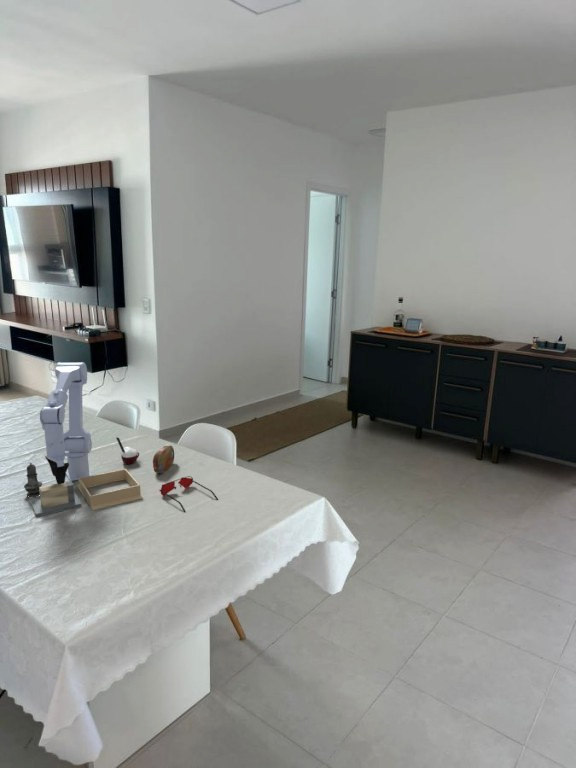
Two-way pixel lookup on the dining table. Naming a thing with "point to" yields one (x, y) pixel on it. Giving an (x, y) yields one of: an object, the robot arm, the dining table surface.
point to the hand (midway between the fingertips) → (58, 479)
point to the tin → (163, 459)
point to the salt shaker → (32, 482)
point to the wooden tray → (111, 496)
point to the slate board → (54, 507)
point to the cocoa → (128, 454)
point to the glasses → (183, 482)
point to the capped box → (57, 494)
